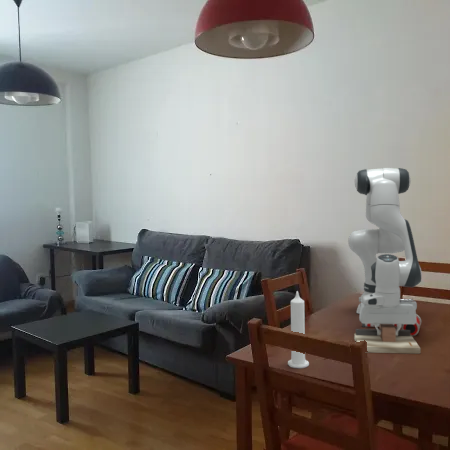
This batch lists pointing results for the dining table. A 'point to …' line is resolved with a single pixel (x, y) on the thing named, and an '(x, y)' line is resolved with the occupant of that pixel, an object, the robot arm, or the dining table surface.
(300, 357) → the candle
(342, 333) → the dining table surface
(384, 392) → the dining table surface
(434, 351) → the dining table surface
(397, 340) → the board
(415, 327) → the toy hammer
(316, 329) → the dining table surface
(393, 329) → the brown cardboard brick
